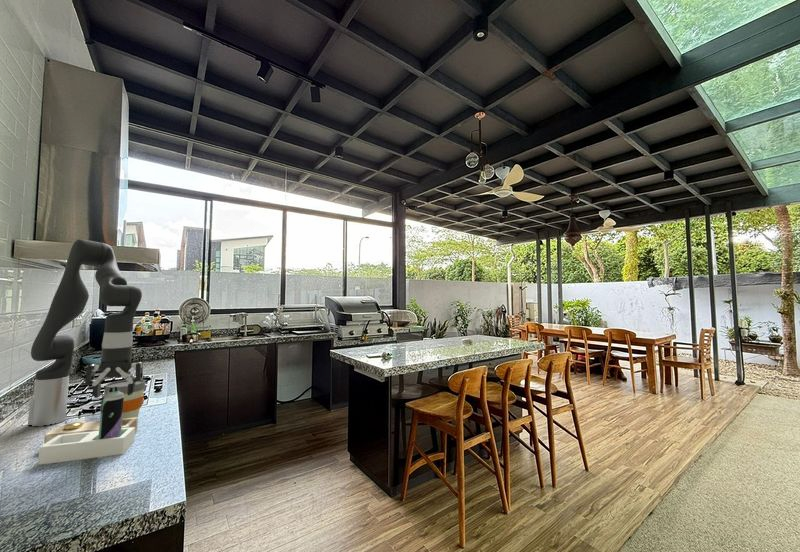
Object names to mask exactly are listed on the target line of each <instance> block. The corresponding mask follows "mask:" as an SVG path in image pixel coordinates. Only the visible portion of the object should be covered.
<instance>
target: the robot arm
mask: <svg viewBox="0 0 800 552" xmlns="http://www.w3.org/2000/svg"><path fill="white" fill-rule="evenodd" d="M82 265H85V266H89V267H90V266H91V267H92V266H93V267H98V268H97V270H96V271H95V274H94V277H95V278H94V279H95V280H96V282H97V284H98V286H99V287H100V288H99V289H100V293H99V301H100V302H101V304H103V305H104V306H106V307H124V308H123V309H122V311H119V312H116V313H115V312H114V313H111V314H108V315H106V317H105V320H104V322H105V323H104V330H103V331H104V332H103V338H102V342H101V356H100V357H101V359H100V364H96V363H92V364H89V365H87V368H86V373H85V374H86V375H85V382H84V384H85V386H86V385H90V386H92V391H91V393H92V394H91V395H92V397H94V399H97V398H99V397H101V392H102V391H101V389H102V384H101V383H102V382H103V381H104V380H105V379H106V378H108V379H110V378H121V377H122V378H123V380H127V381H128V382H129V384H128V393H127V395H131V394H132V393H133V392H134V391H135V383H136V382H137V381H140V380H141V379H142V380H144V379H143V378H144V363H143V361H139V362H132V354H133V353H132V352H133V342H134V341H133V340H134V339H133V338H134V337H133V326H134V318H135V315H136V312H137V310H138V307H139V305H140V303H141V300H142V297H143V295H142V294H143V293H142V290H141V288H140V287H138V286H136V285H130V284H129V285H128V283H127V279H126V278H125V276H124V275H123V274H122V272H121V270H120V269H119V265H118V262H117V258H116V255H115V251H114V249H113V248H112V246H111V245H109V244H108V243H104V242H98V241H95V240H94V241H93V240H89V239H82V238H79V239H77V240H75V241H74V243H73V244H72V246H71V248H70V251H69V253H68V258H67V261H66V264H65V269H64V272H63V275H62V277H61V279H60V283H59V284H58V287H57V289H56V291H55V292H54V293H55V294H54V296H53V298H52V300H51V303H50V306H49V309H48V313H47V314H46V318H45V319H44V322H43V324H42V326H41V328H40V329H39V331H38V333H37V335H36V337H35V339H34V341H33V343H32V345H31V349H30V355H31V358H32V360H33V361H37V362H46V361H54V360H55V361H54V362H53V363H51V364H50V365H49V366H47V367H44V368H41V369H40V370H37V371H36V372H35V376H34V388H33V396H32V397H33V399H30V400H29V409H28V417H27V426H28V425H32V426H31V427H34V426H39V427H44V426H43V425H47V426H51V425H50V424H52V425H56V424H59V423H62V422H64V421H66V419H67V407H68V398H69V397H68V395H69V387H70V386H69V384H70V374H71V369H72V366H73V358H74V357H73V356H74V351H75V340H74V338H73V336H71V335H69V334H67V335H65V334H64V335H57V334H58V333H59V332H60V331H61V330H63V328H64V327H65V326H67V325H69V324H70V323H71V322H72V321H73V320H75V319H76V318H78V317H80V315H81V314H82V313H83V312H84V310H85V308H86V305H87V303H88V300H89V297H90V296H89V292H88V289H87V287H86V285H85V284H84V282H83V280H82V277H81V274H80V269H81V267H82ZM131 368H133V370H135V376H134V375H133V373H132V371H130V370H131ZM98 370H100V372H101V374H100V375H99V376H98V377H97V378H96V379H95V375H96V374H95V373H96V372H97V371H98ZM55 423H56V424H55Z"/></svg>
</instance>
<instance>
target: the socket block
mask: <svg viewBox="0 0 800 552" xmlns="http://www.w3.org/2000/svg"><path fill="white" fill-rule="evenodd" d="M138 422H139V416H138V417H135V418H124V419H122V428H131V427H135V434H136V433H137V432H138V425H139V423H138ZM67 424H68V423H64V424H60V425H58V426H57V427H56V428H53V429H51V431H49V432H48V433H45V434H44V438H43V441H44V442H43V445H44V444H45V443H47V442H48V441H50V440H52V439H53V438H55V437H56V436H58V435H64V434H73V433H83V432H92V431H99V424H100V420H97V421H96V420H94V421H84V422H82V427H80V428H78V429H73V430H64V426H65V425H67Z"/></svg>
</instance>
